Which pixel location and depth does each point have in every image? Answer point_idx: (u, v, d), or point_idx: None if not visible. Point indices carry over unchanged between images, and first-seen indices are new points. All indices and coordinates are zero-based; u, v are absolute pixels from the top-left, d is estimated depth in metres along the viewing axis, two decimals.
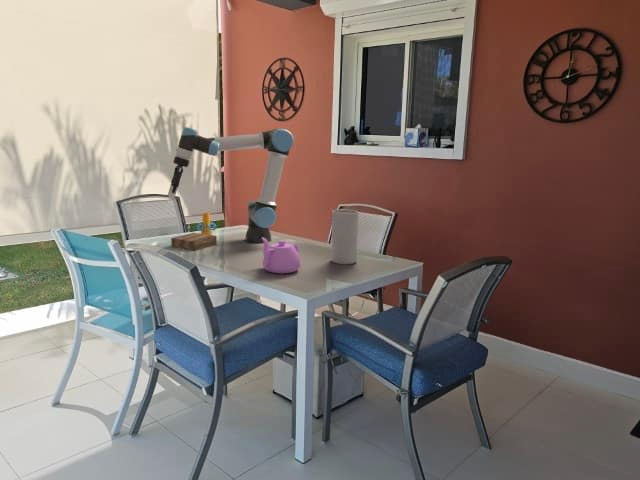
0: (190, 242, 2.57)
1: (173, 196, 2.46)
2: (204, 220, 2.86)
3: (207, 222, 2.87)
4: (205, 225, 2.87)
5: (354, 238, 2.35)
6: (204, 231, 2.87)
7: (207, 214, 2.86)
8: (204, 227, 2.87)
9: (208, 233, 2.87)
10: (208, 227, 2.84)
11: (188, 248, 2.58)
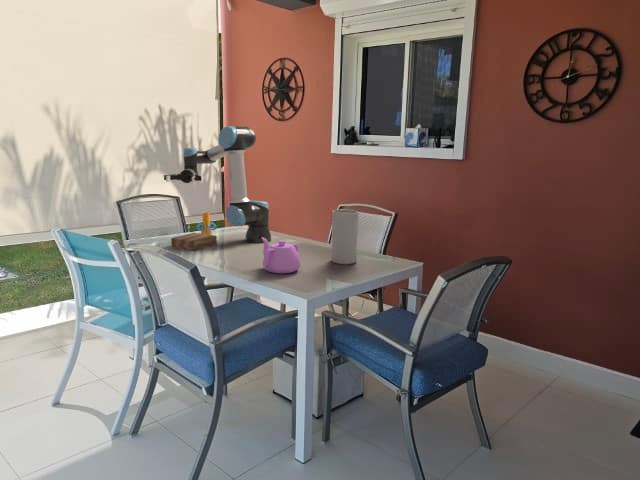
0: (190, 242, 2.57)
1: None
2: (204, 220, 2.86)
3: (207, 222, 2.87)
4: (205, 225, 2.87)
5: (354, 238, 2.35)
6: (204, 231, 2.87)
7: (207, 214, 2.86)
8: (204, 227, 2.87)
9: (208, 233, 2.87)
10: (208, 227, 2.84)
11: (188, 248, 2.58)
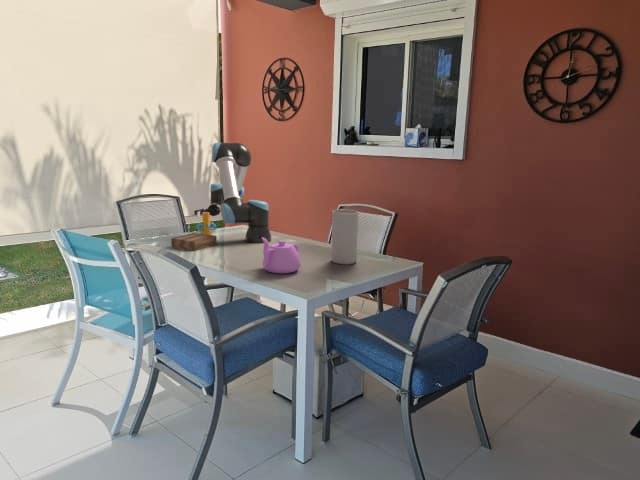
0: (190, 242, 2.57)
1: None
2: (204, 220, 2.86)
3: (207, 222, 2.87)
4: (205, 225, 2.87)
5: (354, 238, 2.35)
6: (204, 231, 2.87)
7: (207, 214, 2.86)
8: (204, 227, 2.87)
9: (208, 233, 2.87)
10: (208, 227, 2.84)
11: (188, 248, 2.58)
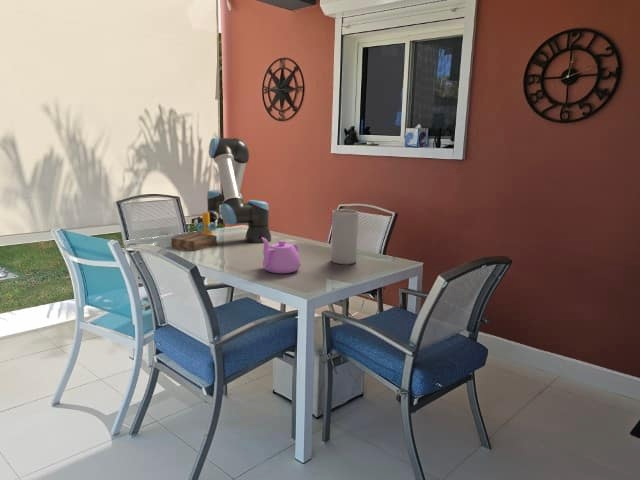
0: (190, 242, 2.57)
1: None
2: (204, 220, 2.86)
3: (207, 222, 2.87)
4: (205, 225, 2.87)
5: (354, 238, 2.35)
6: (204, 231, 2.87)
7: (207, 214, 2.86)
8: (204, 227, 2.87)
9: (208, 233, 2.87)
10: (208, 227, 2.84)
11: (188, 248, 2.58)
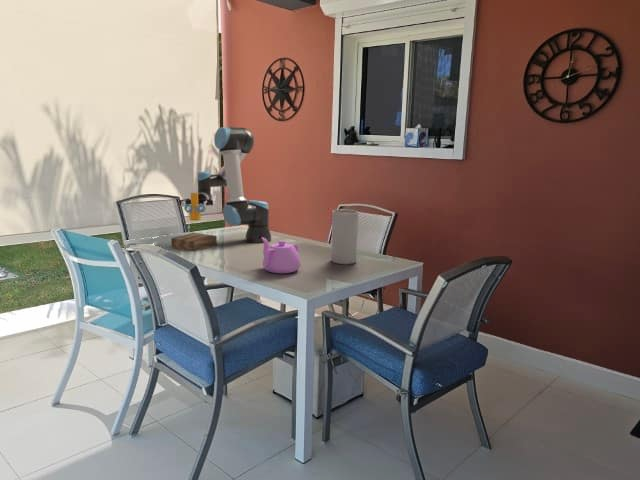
0: (190, 242, 2.57)
1: None
2: (192, 201, 2.70)
3: (195, 203, 2.70)
4: (193, 206, 2.70)
5: (354, 238, 2.35)
6: (192, 213, 2.70)
7: (195, 194, 2.69)
8: (192, 208, 2.70)
9: (197, 215, 2.71)
10: (196, 208, 2.67)
11: (188, 248, 2.58)
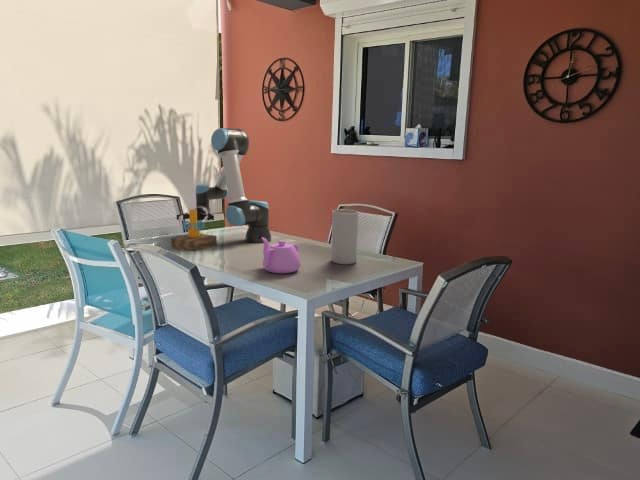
0: (190, 242, 2.57)
1: None
2: (191, 218, 2.63)
3: (194, 220, 2.63)
4: (192, 223, 2.63)
5: (354, 238, 2.35)
6: (191, 230, 2.63)
7: (194, 211, 2.63)
8: (191, 225, 2.64)
9: (196, 232, 2.64)
10: (195, 225, 2.60)
11: (188, 248, 2.58)
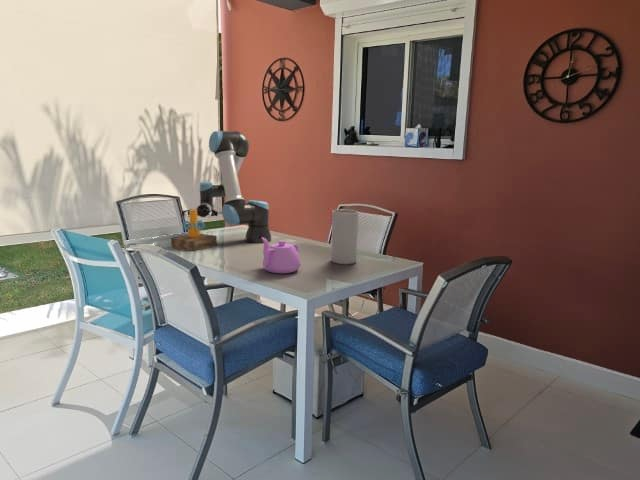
0: (190, 242, 2.57)
1: None
2: (191, 218, 2.63)
3: (194, 220, 2.63)
4: (192, 223, 2.63)
5: (354, 238, 2.35)
6: (191, 230, 2.63)
7: (194, 211, 2.63)
8: (191, 225, 2.64)
9: (196, 232, 2.64)
10: (195, 225, 2.60)
11: (188, 248, 2.58)
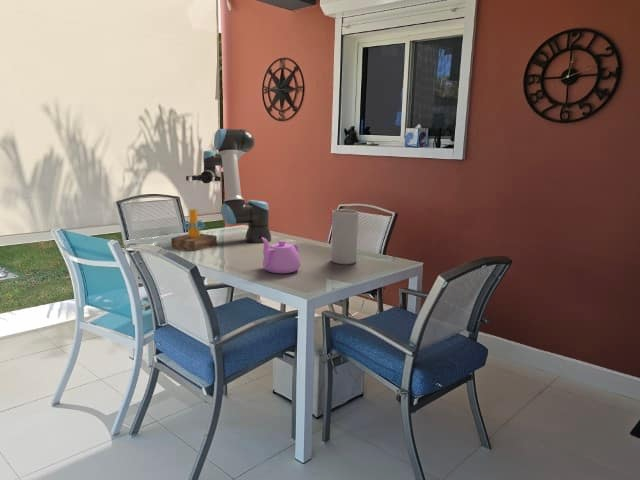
0: (190, 242, 2.57)
1: None
2: (191, 218, 2.63)
3: (194, 220, 2.63)
4: (192, 223, 2.63)
5: (354, 238, 2.35)
6: (191, 230, 2.63)
7: (194, 211, 2.63)
8: (191, 225, 2.64)
9: (196, 232, 2.64)
10: (195, 225, 2.60)
11: (188, 248, 2.58)
